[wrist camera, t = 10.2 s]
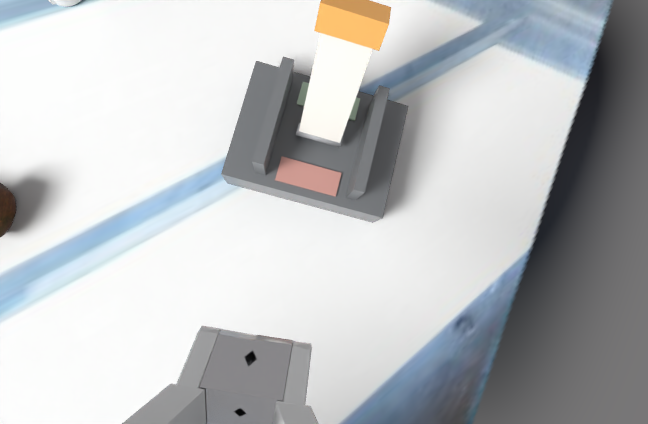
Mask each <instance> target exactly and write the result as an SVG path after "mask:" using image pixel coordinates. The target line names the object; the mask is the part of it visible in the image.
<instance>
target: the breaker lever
mask: <svg viewBox="0 0 648 424" xmlns="http://www.w3.org/2000/svg"><path fill="white" fill-rule="evenodd" d="M390 11H391V7H388V6H385V5H382V4H379V3H376V2H373V1H369V0H321V2H320V6H319V11H318V16H317V21H316V26H315V31H316V32H320V36H319V41H318V45H317V50H316V55H315V59H314V64H313V68H312V73H311V77H310V82H309V87H308V91H307V96H306V100H305V105H304V110H303V114H302V119H301V123H299V125H298V128H297V132H296V135H298V136H301V137H305V138H308V139H312V140H315V141H319V142H322V143H326V144H329V145H333V146H336V147H341V144H342V141H343V137H344V135H343V133H344V130H345V127H346V125H347V122H348V119H349V116H350V113H351V110H352V108H353V105H354V102H355V99H356V96H357V93H358V91H359V88H360V85H361V82H362V79H363V76H364V74H365V71H366V68H367V65H368V62H369V59H370V57H371V54H372V51H373V49H375V50H378V51H379V49H380V47H381V44H382V41H383V39H384V36H385V33H386V30H387V28H388V25H389V19H390Z"/></svg>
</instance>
